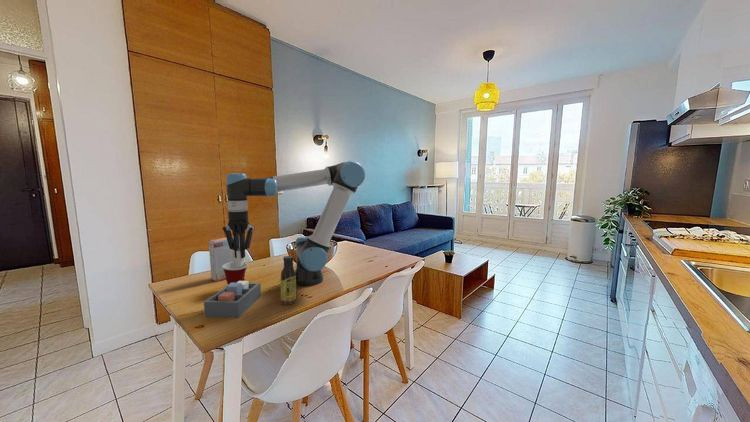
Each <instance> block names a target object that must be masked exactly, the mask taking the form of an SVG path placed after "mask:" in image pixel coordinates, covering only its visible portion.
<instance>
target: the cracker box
mask: <svg viewBox="0 0 750 422" xmlns="http://www.w3.org/2000/svg"><path fill="white" fill-rule="evenodd" d="M232 237H233V235H232ZM208 247H209V248H208V250H209V262H210V263H209V265H210V277H211V280H212V281H215V282H217V283H218V282H220V281H221V282H222V281H224V280H226V276H225V273H224V269H223V268H222V266H223V265H224V264H226V263H230V262H237V258H235V251H234V250H232V249H230V248H229V245H228V241H227V238H226V237H221V238H216V239H211V240H208ZM239 248H240V240H239ZM239 250H240V249H239Z"/></svg>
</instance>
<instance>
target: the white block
mask: <svg viewBox="0 0 750 422" xmlns="http://www.w3.org/2000/svg"><path fill="white" fill-rule="evenodd" d="M237 283H242V289H249V283H250V281H249V280H244V281H238V282H237Z"/></svg>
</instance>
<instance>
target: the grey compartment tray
mask: <svg viewBox="0 0 750 422" xmlns="http://www.w3.org/2000/svg"><path fill="white" fill-rule="evenodd" d="M231 283H233V282H231ZM231 283H230V284H231ZM228 285H229V284H227V285H226V286H228ZM226 286H224V287H223V288H222V289H220V290H219V291H217V292H215V293H214V294H213V295H211V296H210V297H209V298H207V299H206V300H205V301H203V309H204V317H205V318H227V319H228V318H233V319H234V318H236V319H237V318H240V317H241V316H242V315H243V314H244V313H245V312H246V311H247V310H249V309H250V307H251V306H252V305H253V304H254V303H256V301H257V300H258V299H259V298H260V297H261V296H262V295H261V289H262V288H261V282H249V289H242V294H235V301H218V296H219V295H220V294H222V293H223V292H227V290H226Z"/></svg>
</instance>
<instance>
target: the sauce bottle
mask: <svg viewBox="0 0 750 422" xmlns="http://www.w3.org/2000/svg"><path fill="white" fill-rule="evenodd" d="M296 299H297V284H296V274H295V269H294V256H293V255H286V256H283V269H282V270H281V272H280V304H282V305H284V306H286V305H287V306H289V305H293V304H295V302H296V301H297V300H296Z"/></svg>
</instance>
